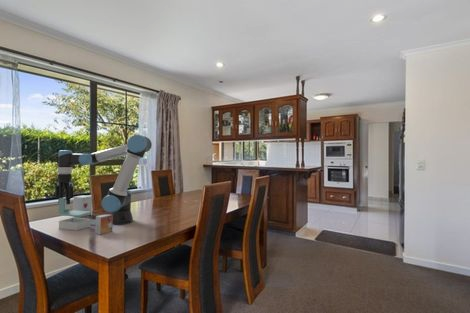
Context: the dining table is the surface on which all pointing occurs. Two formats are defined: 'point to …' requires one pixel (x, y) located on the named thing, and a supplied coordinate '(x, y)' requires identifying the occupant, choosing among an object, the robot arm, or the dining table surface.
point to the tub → (74, 224)
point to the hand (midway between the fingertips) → (64, 208)
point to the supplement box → (82, 204)
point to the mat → (93, 222)
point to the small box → (104, 224)
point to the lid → (67, 212)
